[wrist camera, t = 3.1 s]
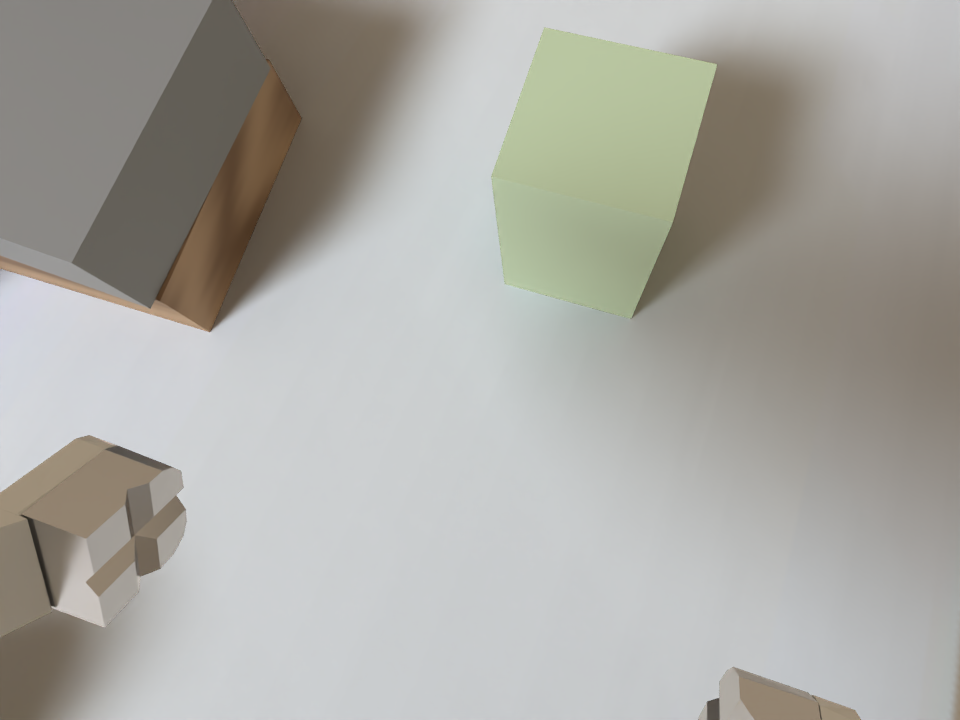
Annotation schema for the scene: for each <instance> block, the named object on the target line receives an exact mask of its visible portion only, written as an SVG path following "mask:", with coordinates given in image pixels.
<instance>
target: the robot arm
mask: <svg viewBox="0 0 960 720" xmlns="http://www.w3.org/2000/svg"><path fill="white" fill-rule="evenodd" d="M183 488H184V486H183V480H182V473H181V471H180V470H178V469H176V468H173V467H171V466H168V465H166V464H163V463H161V462H158V461H156V460H153V459H151V458H148V457H145V456H143V455H140V454H138V453H135V452H133V451H130V450H128V449H125V448H122V447H120V446H117V445H114V444H112V443H109V442H106V441H104V440H101V439H98V438H95V437H93V436H90V435H88V436H84V437H80V438H77V439H75V440H73V441H72V442H71V443H69V444H68V445H66V446H65V447H64V448H62V449H61V450H59V451H58V452H57V453H55V454H54V455H52V456H51V457H50V458H48V459H47V460H45V461H44V462H43V463H41V464H40V465H38V466H37V467H36V468H34V469H33V470H32V471H30V472H29V473H27V474H26V475H25V476H23V477H22V478H20V479H19V480H18V481H16V482H15V483H13V484H12V485H11V486H9V487H8V488H6V489H5V490H4V491H2V492H1V493H0V637H2V636H5V635H7V634H9V633H11V632H13V631H15V630H17V629H19V628H21V627H23V626H25V625H27V624H29V623H31V622H33V621H35V620H37V619H39V618H41V617H43V616H45V615H47V614H49V613H51V612H52V608H53V609H56V610H58V611H61V612H64V613H66V614H69V615H72V616H74V617H77V618H80V619H82V620H85V621H88V622H91V623H93V624H96V625H99V626H101V627H104V628H105V627H106V626H107V625H108V624H109V623H110V622H111V621H112V620H113V619H114V618H115V617H116V616H117V615H118V613H119V612H120V611H121V610H122V609H123V608H124V607H125V606H126V605H127V604H128V603H129V602H130V601H131V600H132V599H133V598H134V596H135V595H136V594H137V593H138V592H139V586H140V577H141V576H143V575H146V574H148V573H151V572H153V571H156V570H158V569H161V567H162V566H163V565H164V564H165V563H166V562H167V561H168V560H169V559H170V557H171V556H172V555H173V554H174V552H175V551H176V549H177V547H178V545H179V543H180V541H181V539H182V537H183V536H184V531H185V526H186V522H187V520H186V509H185V508H184V506H183V505H182V503H181V502H180V500H179V499H178V497H177V496H176V495H177V494H178V493H179V492H180V491H181V490H182V489H183ZM698 720H861V719H860V717H859V716H858V714H857V713H856V711H855V710H853V709H850V708H847V707H845V706H842V705H839V704H836V703H834V702H831V701H828V700H825V699H822V698H820V697H817V696H814V695H810V694H809V693H808V692H805V691H802V690H799V689H796V688H793V687H790V686H787V685H785V684H782V683H779V682H776V681H773V680H770V679H767V678H764V677H761V676H758V675H755V674H753V673H750V672H747V671H744V670H741V669H738V668H735V667H732V668H730V669H729V670H727V671H726V672H725V674H724V675H723V677H722V679H721V680H720V682H719V698H717V699H714V700H711V701H708V702H707V703H706V705H705V707H704V708H703V710H702V712H701V714H700V716H699V718H698Z"/></svg>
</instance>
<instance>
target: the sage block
mask: <svg viewBox="0 0 960 720" xmlns="http://www.w3.org/2000/svg"><path fill="white" fill-rule="evenodd" d="M716 67H717V64H714V63H709V62H705V61H700V60H695V59H691V58H686V57H681V56H676V55H672V54H667V53H662V52H658V51H653V50H648V49H643V48H639V47H634V46H629V45H625V44H620V43H615V42H610V41H606V40H601V39H596V38H592V37H587V36H582V35H577V34H573V33H568V32H563V31H559V30H554V29H549V28H544V30H543V33H542V35H541V38H540V41H539V44H538V47H537V50H536V52H535V55H534V58H533V61H532V64H531V66H530V69H529V72H528V75H527V78H526V80H525V83H524V86H523V89H522V92H521V95H520V97H519V100H518V103H517V106H516V109H515V111H514V114H513V117H512V120H511V123H510V125H509V128H508V131H507V134H506V137H505V139H504V142H503V145H502V148H501V151H500V154H499V156H498V159H497V162H496V165H495V168H494V170H493V173H492V176H491V179H492V187H493V194H494V202H495V210H496V218H497V226H498V234H499V242H500V250H501V258H502V266H503V274H504V282H505V284H507V285H510V286H514V287H518V288H521V289H525V290H528V291H532V292H536V293H539V294H543V295H546V296H550V297H554V298H557V299H561V300H564V301H568V302H572V303H575V304H579V305H582V306H586V307H590V308H593V309H597V310H601V311H604V312H608V313H611V314H615V315H619V316H622V317H626V318H629V319H631V318H632V315H633V313H634V311H635V309H636V306H637V304H638V302H639V299H640V297H641V295H642V292H643V290H644V288H645V286H646V283H647V281H648V279H649V276H650V274H651V272H652V269H653V267H654V265H655V262H656V260H657V258H658V256H659V253H660V251H661V249H662V246H663V244H664V242H665V239H666V237H667V235H668V233H669V230H670V228H671V226H672V223H673V220H674V217H675V213H676V210H677V206H678V202H679V199H680V195H681V192H682V188H683V185H684V181H685V178H686V174H687V170H688V167H689V163H690V160H691V156H692V153H693V149H694V146H695V142H696V139H697V135H698V131H699V128H700V124H701V121H702V117H703V114H704V110H705V107H706V103H707V99H708V96H709V92H710V89H711V85H712V82H713V78H714V75H715V71H716Z"/></svg>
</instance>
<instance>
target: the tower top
mask: <svg viewBox="0 0 960 720" xmlns="http://www.w3.org/2000/svg"><path fill="white" fill-rule="evenodd" d="M270 69H271V68H270V66H269V64H268V63H267V61H266V59H265V57H264V56H263V54H262V52H261V50H260V49H259V47H258V45H257V43H256V42H255V40H254V38H253V36H252V35H251V33H250V31H249V29H248V28H247V26H246V24H245V23H244V21H243V19H242V17H241V16H240V14H239V12H238V10H237V9H236V7H235V5H234V3H233V2H232V0H0V256H3V257H6V258H9V259H12V260H14V261H17V262H20V263H23V264H26V265H28V266H31V267H34V268H37V269H40V270H42V271H45V272H48V273H51V274H54V275H57V276H59V277H62V278H65V279H68V280H71V281H73V282H76V283H79V284H82V285H85V286H87V287H90V288H93V289H96V290H99V291H102V292H104V293H107V294H110V295H113V296H116V297H118V298H121V299H124V300H127V301H130V302H132V303H135V304H138V305H141V306H144V307H147V308H149V309H151V307H152V305H153V303H154V301H155V299H156V297H157V295H158V293H159V291H160V289H161V287H162V285H163V283H164V281H165V279H166V277H167V275H168V273H169V271H170V269H171V267H172V265H173V263H174V261H175V259H176V257H177V255H178V253H179V251H180V249H181V247H182V245H183V243H184V241H185V239H186V237H187V235H188V233H189V231H190V229H191V227H192V225H193V223H194V221H195V219H196V217H197V215H198V213H199V211H200V209H201V207H202V205H203V203H204V201H205V199H206V197H207V195H208V193H209V191H210V189H211V187H212V185H213V183H214V181H215V179H216V177H217V175H218V173H219V171H220V169H221V167H222V165H223V163H224V161H225V159H226V157H227V155H228V153H229V151H230V149H231V147H232V145H233V143H234V141H235V139H236V137H237V135H238V133H239V131H240V129H241V127H242V125H243V123H244V121H245V119H246V117H247V115H248V113H249V111H250V109H251V107H252V105H253V103H254V101H255V99H256V97H257V95H258V93H259V91H260V89H261V87H262V85H263V83H264V81H265V79H266V77H267V75H268V73H269V71H270Z"/></svg>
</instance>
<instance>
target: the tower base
mask: <svg viewBox="0 0 960 720" xmlns="http://www.w3.org/2000/svg"><path fill="white" fill-rule="evenodd" d="M266 61H267V63H268V64H269V66H270V68H271V69H270V71H269V73H268V75H267V77H266V79H265V81H264V83H263V85H262V87H261V89H260V91H259V93H258V95H257V97H256V99H255V101H254V103H253V105H252V107H251V109H250V111H249V113H248V115H247V117H246V119H245V121H244V123H243V125H242V127H241V129H240V131H239V133H238V135H237V137H236V139H235V141H234V143H233V145H232V147H231V149H230V151H229V153H228V155H227V157H226V159H225V161H224V163H223V165H222V167H221V169H220V171H219V173H218V175H217V177H216V179H215V181H214V183H213V185H212V187H211V189H210V191H209V193H208V195H207V197H206V199H205V201H204V203H203V205H202V207H201V209H200V211H199V213H198V215H197V217H196V219H195V221H194V223H193V225H192V227H191V229H190V231H189V233H188V235H187V237H186V239H185V241H184V243H183V245H182V247H181V249H180V251H179V253H178V255H177V257H176V259H175V261H174V263H173V265H172V267H171V269H170V271H169V273H168V275H167V277H166V279H165V281H164V283H163V285H162V287H161V289H160V291H159V293H158V295H157V297H156V299H155V301H154V303H153V305H152V307H151V309H149V308H147V307H144V306H141V305H138V304H135V303H132V302H130V301H127V300H124V299H121V298H118V297H116V296H113V295H110V294H107V293H104V292H102V291H99V290H96V289H93V288H90V287H87V286H85V285H82V284H79V283H76V282H73V281H71V280H68V279H65V278H62V277H59V276H57V275H54V274H51V273H48V272H45V271H42V270H40V269H37V268H34V267H31V266H28V265H26V264H23V263H20V262H17V261H14V260H12V259H9V258H6V257H3V256H0V269H4V270H7V271H10V272H13V273H17V274H20V275H23V276H27V277H30V278H33V279H37V280H40V281H43V282H46V283H50V284H53V285H56V286H60V287H63V288H66V289H69V290H73V291H76V292H79V293H83V294H86V295H89V296H93V297H96V298H99V299H102V300H106V301H109V302H112V303H116V304H119V305H122V306H125V307H129V308H132V309H135V310H139V311H142V312H145V313H149V314H152V315H155V316H158V317H162V318H165V319H168V320H172V321H175V322H178V323H181V324H185V325H188V326H191V327H195V328H198V329H201V330H205V331H208V332H210V331H211V329H212V326H213V324H214V322H215V319H216V317H217V315H218V312H219V310H220V308H221V305H222V303H223V301H224V298H225V296H226V294H227V291H228V289H229V287H230V284H231V282H232V280H233V277H234V275H235V273H236V270H237V268H238V266H239V263H240V261H241V259H242V256H243V254H244V252H245V249H246V247H247V245H248V242H249V240H250V238H251V235H252V233H253V231H254V228H255V226H256V224H257V221H258V219H259V217H260V214H261V212H262V210H263V207H264V205H265V203H266V200H267V198H268V196H269V193H270V191H271V189H272V186H273V184H274V182H275V179H276V177H277V175H278V172H279V170H280V168H281V165H282V163H283V161H284V158H285V156H286V154H287V151H288V149H289V147H290V144H291V142H292V140H293V137H294V135H295V133H296V130H297V128H298V126H299V123H300V121H301V119H302V118H301V116H300V114H299V113H298V111H297V109H296V107H295V105H294V104H293V102H292V100H291V98H290V97H289V95H288V93H287V91H286V89H285V88H284V86H283V84H282V82H281V80H280V79H279V77H278V75H277V73H276V71H275V70H274V68H273V66H272V64H271V62H270V61H269V60H267V59H266Z"/></svg>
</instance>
